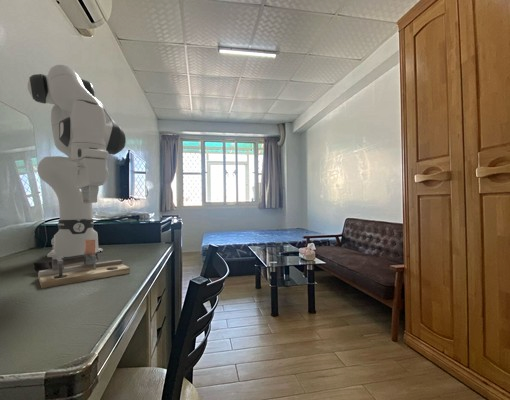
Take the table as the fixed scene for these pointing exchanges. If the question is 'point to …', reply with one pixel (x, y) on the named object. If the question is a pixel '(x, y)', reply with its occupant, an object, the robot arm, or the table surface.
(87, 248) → the block
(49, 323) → the table surface
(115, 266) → the hole plate
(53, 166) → the robot arm
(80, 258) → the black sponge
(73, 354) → the table surface
